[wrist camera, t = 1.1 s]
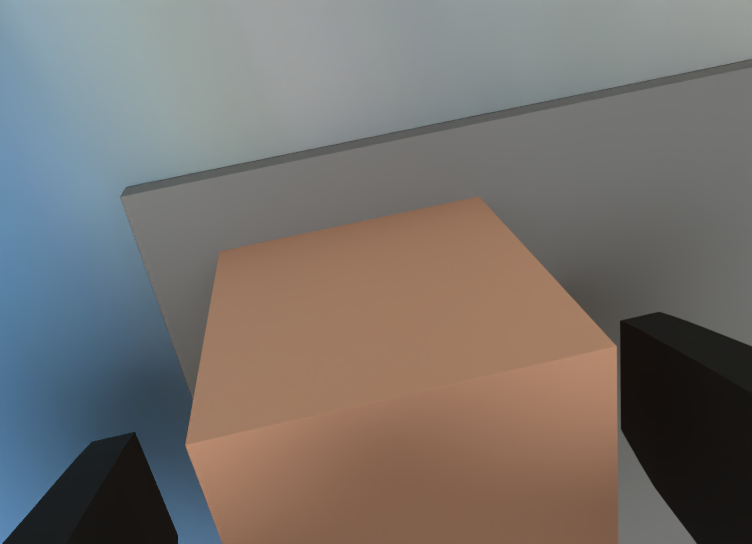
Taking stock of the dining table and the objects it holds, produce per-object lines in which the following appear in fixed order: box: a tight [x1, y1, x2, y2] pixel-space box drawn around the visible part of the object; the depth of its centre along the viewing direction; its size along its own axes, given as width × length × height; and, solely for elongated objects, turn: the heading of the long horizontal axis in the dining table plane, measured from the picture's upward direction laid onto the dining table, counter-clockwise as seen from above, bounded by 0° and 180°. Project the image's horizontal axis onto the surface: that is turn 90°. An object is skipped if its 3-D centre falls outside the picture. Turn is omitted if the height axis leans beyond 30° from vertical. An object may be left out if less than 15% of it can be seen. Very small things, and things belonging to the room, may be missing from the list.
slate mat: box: [120, 60, 752, 544], centre depth 15 cm, size 17×19×1 cm
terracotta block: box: [185, 197, 618, 544], centre depth 10 cm, size 4×4×5 cm
